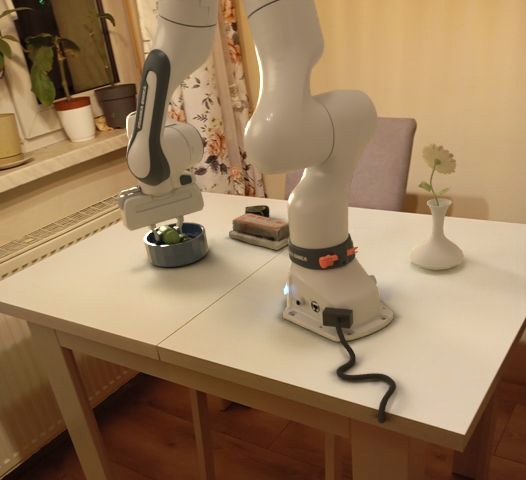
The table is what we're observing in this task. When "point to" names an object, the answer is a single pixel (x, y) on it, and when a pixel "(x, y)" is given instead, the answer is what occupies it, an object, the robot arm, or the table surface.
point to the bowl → (177, 247)
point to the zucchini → (184, 238)
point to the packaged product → (261, 231)
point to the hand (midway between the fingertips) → (169, 236)
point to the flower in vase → (437, 217)
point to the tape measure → (258, 210)
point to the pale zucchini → (169, 235)
